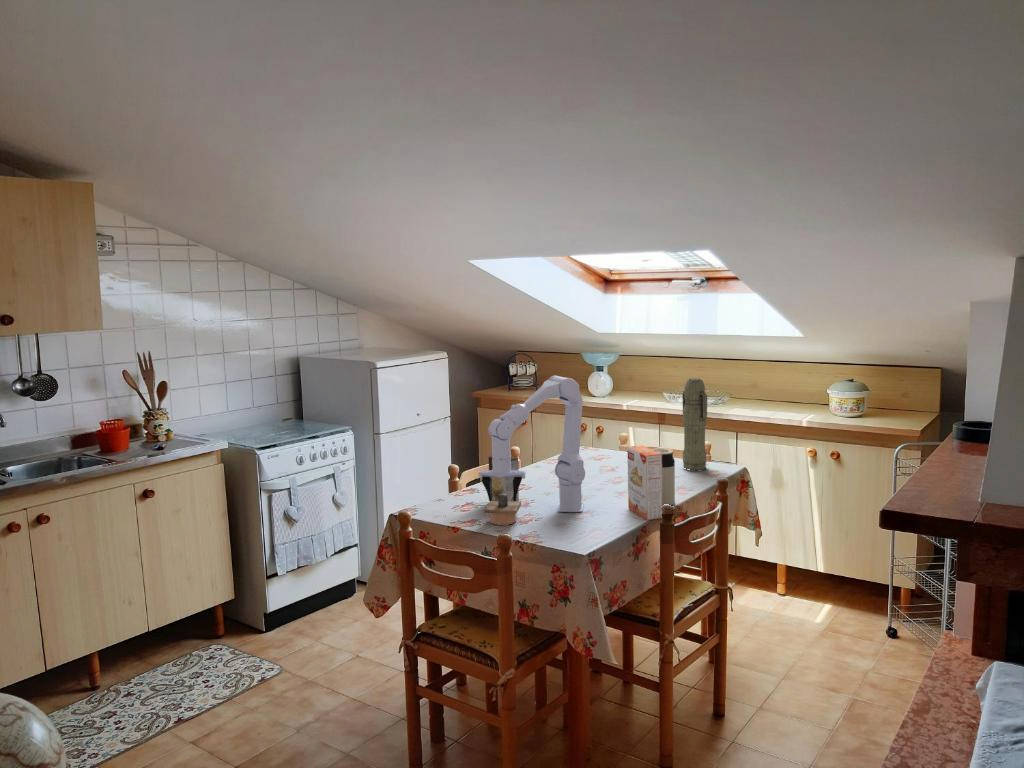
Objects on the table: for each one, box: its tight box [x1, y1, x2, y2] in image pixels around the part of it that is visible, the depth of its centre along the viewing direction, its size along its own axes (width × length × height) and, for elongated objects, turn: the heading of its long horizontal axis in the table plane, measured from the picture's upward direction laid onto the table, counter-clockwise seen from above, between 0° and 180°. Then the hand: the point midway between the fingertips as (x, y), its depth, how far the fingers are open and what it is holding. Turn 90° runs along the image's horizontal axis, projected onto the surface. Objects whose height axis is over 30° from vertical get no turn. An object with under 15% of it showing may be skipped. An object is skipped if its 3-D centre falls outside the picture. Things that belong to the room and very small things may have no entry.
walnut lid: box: [483, 494, 522, 514], centre depth 254 cm, size 10×10×4 cm
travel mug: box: [651, 447, 676, 506], centre depth 269 cm, size 8×8×18 cm
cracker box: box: [626, 445, 664, 521], centre depth 258 cm, size 14×6×21 cm, turn 16°
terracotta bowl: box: [489, 513, 518, 526], centre depth 255 cm, size 8×8×4 cm
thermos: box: [682, 378, 708, 471], centre depth 314 cm, size 9×12×35 cm
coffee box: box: [488, 455, 520, 501], centre depth 275 cm, size 9×6×16 cm
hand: (502, 500), depth 254 cm, fingers open, 7 cm apart
